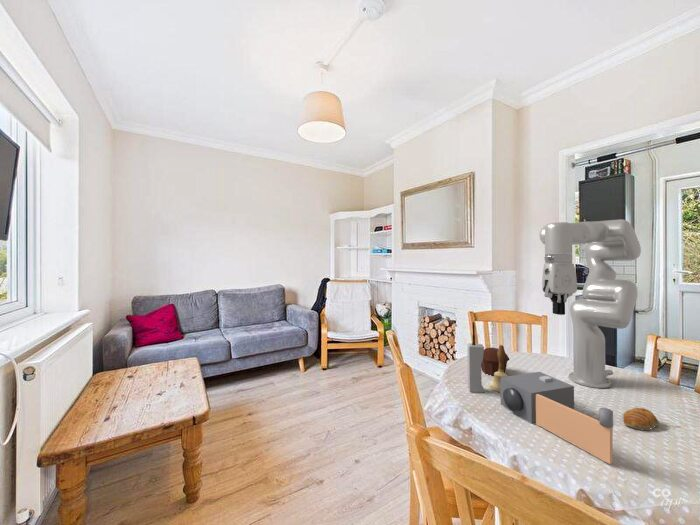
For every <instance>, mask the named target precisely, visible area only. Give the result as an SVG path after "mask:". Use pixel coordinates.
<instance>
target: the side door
mask: <svg viewBox="0 0 700 525" xmlns="http://www.w3.org/2000/svg"><path fill="white" fill-rule="evenodd" d="M598 411H599V412H598V413H599V419H596V418H593V417H592V416H589V415H587V414H584V413H583V412H580V411H579V410H575V409H574V410H573V409H571V408H569V407H567V406H564V405H562V404H560V403H558V402H555V401H553V400H551V399H548V398H546V397H544V396H542V395H539V394H536V423H535V424H536V425H537V426H539V427H540V428H543V429H545V430H546V431H549V432H550V433H552V434H554V435H556V436H558V437H560V438H561V439H563V440H565V441H566V442H568V443H570V444H572V445H574V446H576V447H578V448H580V449H581V450H583V451H585V452H588V453H589V454H591V455H592V456H594V457H596V458H597V459H600V460H602V461H603V462H605V463H607V464H609V465H611V464H613V460H614V458H613V456H614V454H613V451H614V450H613V448H614V447H613V444H614V442H613V435H614V434H613V432H614V431H613V428H614V411H613V410H612V409H611V408H610V409H609V408H607V407H599V410H598Z"/></svg>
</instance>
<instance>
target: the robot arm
mask: <svg viewBox="0 0 700 525" xmlns="http://www.w3.org/2000/svg"><path fill="white" fill-rule="evenodd" d="M637 236H638V235H637V234H636V232H635V229H634V227H633V225H632V224H631V223H630V222H629V221H628V220H626V219H610V220H608V219H607V220H599V221H598V220H597V221H588V220H587V221H577V222H567V221H566V222H565V221H563V222H562V221H561V222H559V221H558V222H550V223H546V225H545V226H544V225H543V227H542V228H541V230H540V231H539V240H540V241H541V243H542V244H543V245H544V258H543V259H544V265H543V269H542V280H541V281H542V282H541V288H542V292H543V293H544V297H545V298H549V300H550V302H552V314H553V315H560V316H563V315H566V303H567V300H568V298H569V297H573V294H575V293H576V292H577V291H578V280H577V272H576V267H575V264H574V263H573V246H574V245H577V246H578V245H585V248H584V254H585V260H586V264H587V267H588V269H589V270H588V274H587V277H586V280H585V282H584V285H583V287H582V292H581V293H582V294H581V295H582V297H583V298H578V299H575V300H574V301H572V302H571V304H570V307H569V312H570V317H571V322H572V332H573V335H572V337H573V339H572V340H573V341H572V342H573V343H572V344H573V348H572V349H573V350H572V351H573V358H572V359H573V361H572V362H573V372H569V373H568V379H569V380H570V381H571V382H574V383H576V384H578V385H581V386H586V387H589V388H595V389H607V388H610V387H611V386H612V382H611V381H610V379H607V377H608V376H612V375H614V372H613V370H611V369H606V337H605V335H604V333H603V331H602V330H601V328H599V327H604V328H611V329H618V330H619V329H620V330H621V329H622V330H623V329H626V328H627V327H629V325H630V323H631V320H632V317H633V314H634V310H635V306H636V303H637V299H638V288H637V286H636V284H635V283H634V282H633V281H630V280H625V279H617V273H616V271H615V269H614V268H613V267H612V266H611V265H609V264H608V263H606V262H605V261H609V262H610V261H612V262H613V261H618V262H621V261H622V262H623V261H628V262H629V261H635V260H638V258H639V257H640V255H641V254H642V253H641V252H642V249H641V248H642V247H641V243H640V241H639V239H638V237H637Z"/></svg>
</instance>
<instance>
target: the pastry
mask: <svg viewBox="0 0 700 525" xmlns="http://www.w3.org/2000/svg"><path fill="white" fill-rule="evenodd" d="M622 416H623V421H622V422H623V424H624V425H625V426H626V427H629V428H630V427H631V428H633V429H635V430H638V429H650V428H652V429H654V428H653V427H654V426H656V427H657V426H658V425H659V424H660V421H659V419H657V417H656V416H655V413H653V412H652V411H651V410H649V409H647V408H644V407H637V406H635V407H632V408H631V409H628V410H626V411H625V412H624V413H623V414H622Z"/></svg>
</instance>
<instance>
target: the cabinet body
mask: <svg viewBox="0 0 700 525" xmlns="http://www.w3.org/2000/svg"><path fill="white" fill-rule="evenodd" d="M500 379H501V392H500V405H501V406H503V407H504V408H505V409H508V410H509V411H511V412H512V413H513V414H516V415H517V416H519V417H520V418H522V419H523V420H524V421H526V422H528V423H530V424H531V425H533V424H536V394H539V395H542V396H544V397H546V398H548V399H551V400H553V401H555V402H558V403H560V404H562V405H564V406H567V407H569V408H571V409H573V410H575V386H574V385H573V384H570V383H568V382H565V381H562V380H560V379H557V378H556V377H553V376H551V375H548V374H546V373H544V372H541V371H534V372H527V373H520V374H514V375H508V376H506V377H500Z"/></svg>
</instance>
